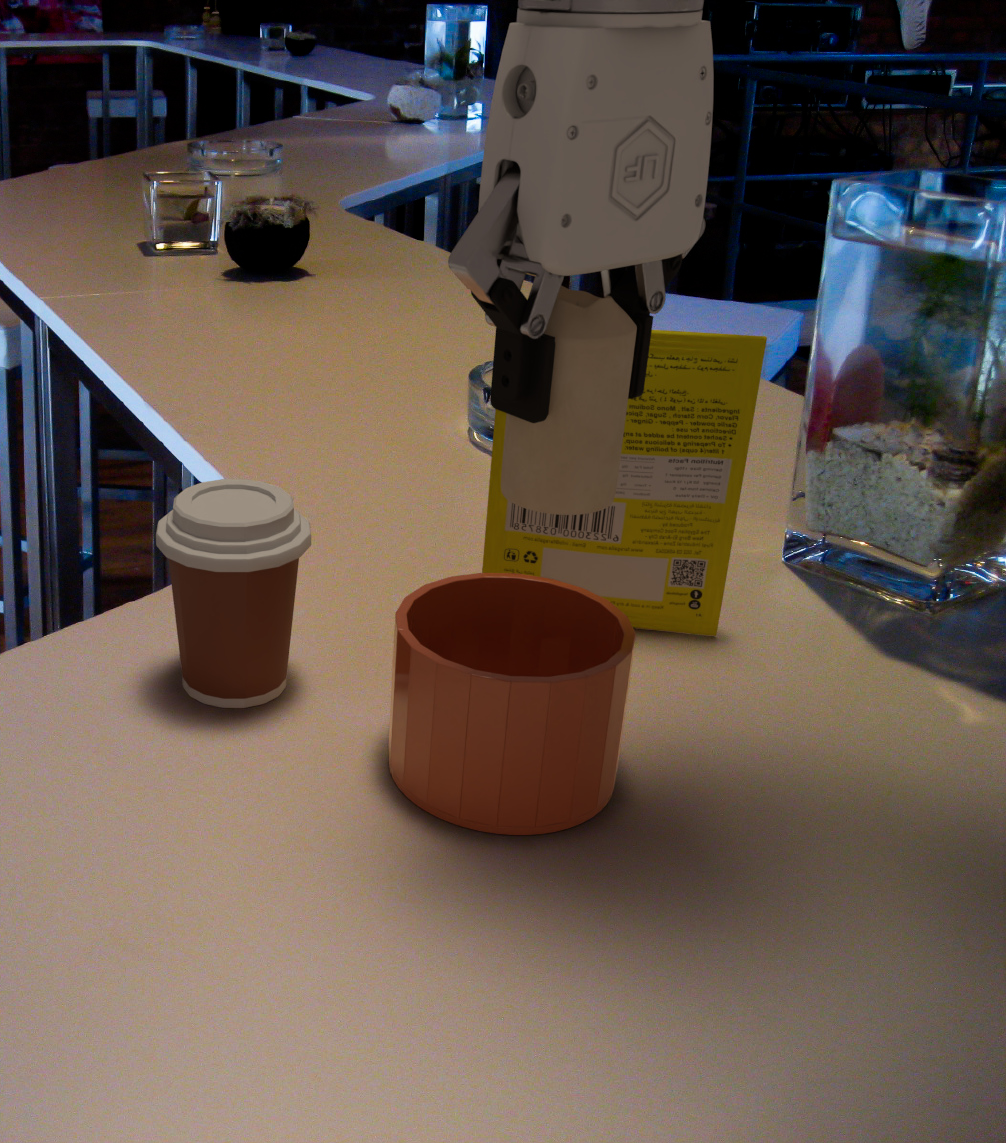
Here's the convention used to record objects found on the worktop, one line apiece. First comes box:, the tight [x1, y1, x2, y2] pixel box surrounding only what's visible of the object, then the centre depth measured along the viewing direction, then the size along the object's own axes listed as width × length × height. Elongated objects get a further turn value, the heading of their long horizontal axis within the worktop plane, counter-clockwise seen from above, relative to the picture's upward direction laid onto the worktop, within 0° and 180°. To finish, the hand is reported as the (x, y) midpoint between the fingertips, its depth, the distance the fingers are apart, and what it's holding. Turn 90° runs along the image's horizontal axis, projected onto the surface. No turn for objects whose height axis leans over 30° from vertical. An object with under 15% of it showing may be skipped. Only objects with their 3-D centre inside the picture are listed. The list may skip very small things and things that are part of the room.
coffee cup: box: [155, 478, 312, 709], centre depth 79 cm, size 9×9×12 cm
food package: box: [481, 329, 768, 637], centre depth 84 cm, size 15×1×20 cm, turn 77°
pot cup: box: [387, 572, 637, 836], centre depth 71 cm, size 12×12×9 cm
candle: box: [501, 285, 637, 515], centre depth 63 cm, size 6×6×10 cm
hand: (567, 398), depth 63 cm, fingers closed on candle, 5 cm apart
